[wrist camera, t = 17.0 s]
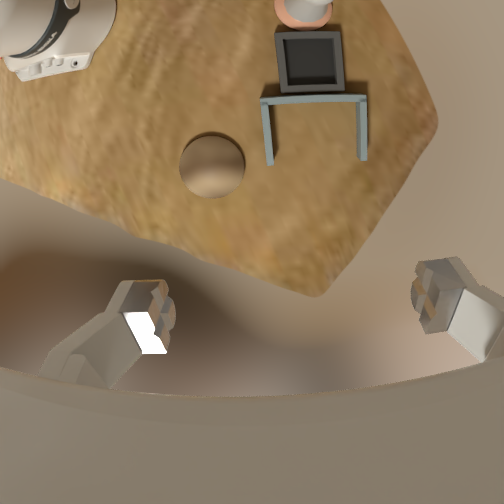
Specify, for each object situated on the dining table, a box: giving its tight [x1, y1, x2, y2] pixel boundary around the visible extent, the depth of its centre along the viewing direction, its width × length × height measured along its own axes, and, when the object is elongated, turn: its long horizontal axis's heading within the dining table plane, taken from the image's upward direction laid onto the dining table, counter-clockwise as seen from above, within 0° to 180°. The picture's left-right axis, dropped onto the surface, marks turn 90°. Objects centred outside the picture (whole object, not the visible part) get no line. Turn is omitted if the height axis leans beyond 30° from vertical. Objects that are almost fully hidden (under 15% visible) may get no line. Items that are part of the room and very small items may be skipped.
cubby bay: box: [260, 93, 367, 166], centre depth 42 cm, size 10×15×2 cm, turn 97°
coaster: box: [274, 0, 332, 31], centre depth 33 cm, size 8×8×1 cm
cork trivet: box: [179, 136, 244, 198], centre depth 47 cm, size 10×10×1 cm
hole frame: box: [274, 31, 345, 93], centre depth 37 cm, size 9×9×2 cm
